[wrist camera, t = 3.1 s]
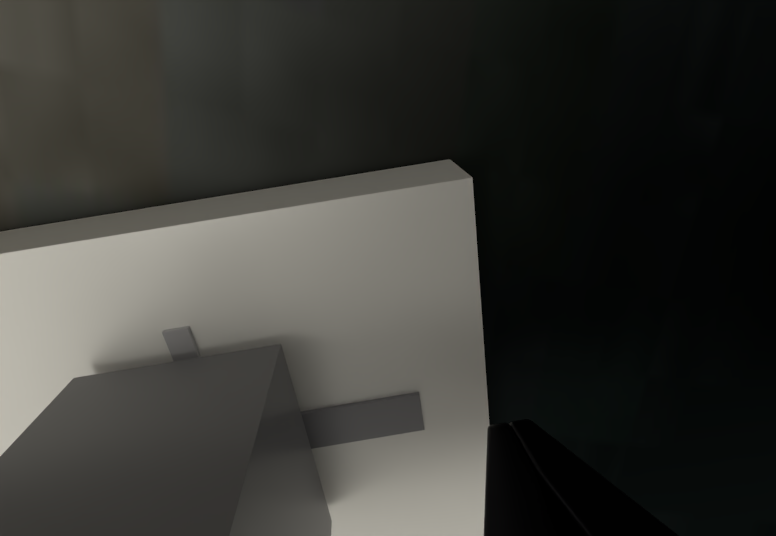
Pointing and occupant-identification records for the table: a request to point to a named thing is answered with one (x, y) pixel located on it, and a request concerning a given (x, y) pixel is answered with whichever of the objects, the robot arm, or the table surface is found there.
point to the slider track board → (285, 325)
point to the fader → (168, 455)
